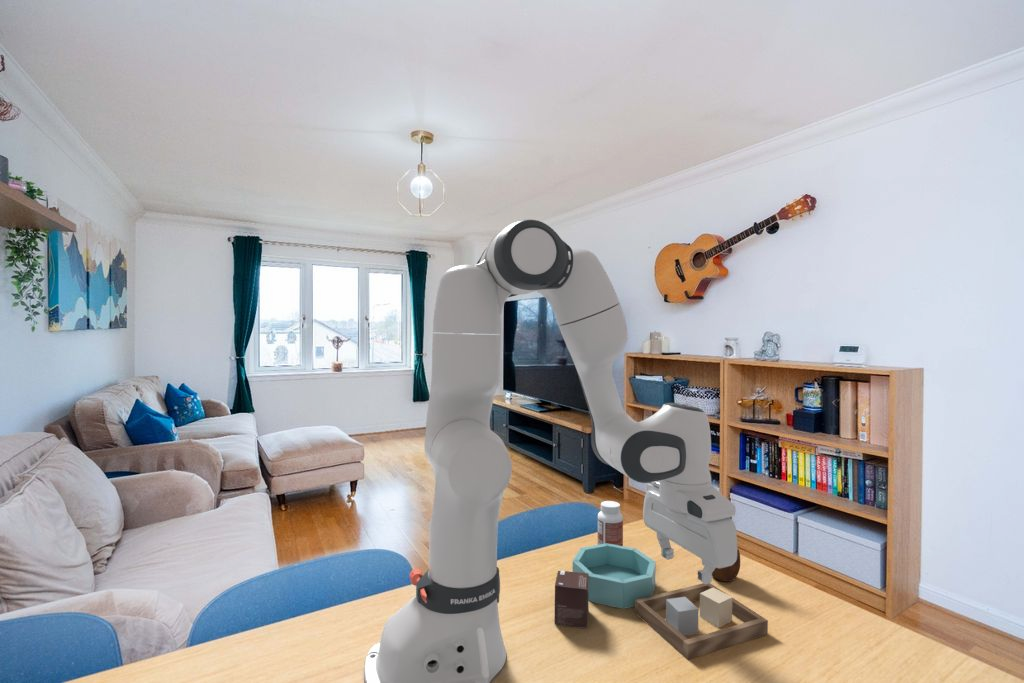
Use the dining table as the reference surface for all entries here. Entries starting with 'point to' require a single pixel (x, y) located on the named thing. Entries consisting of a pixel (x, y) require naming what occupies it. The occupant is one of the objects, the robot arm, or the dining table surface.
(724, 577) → the wooden figurine
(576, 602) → the box
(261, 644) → the dining table surface
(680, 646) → the frame
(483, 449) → the robot arm
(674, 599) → the pale grey cube
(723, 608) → the beige matte cube
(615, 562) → the bowl
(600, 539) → the pill bottle
